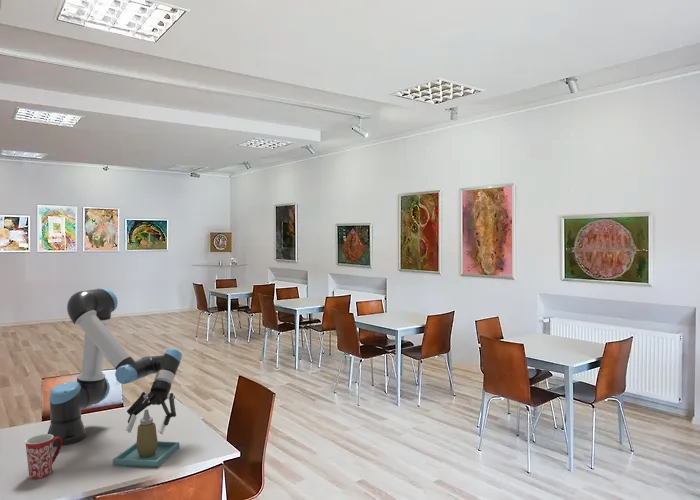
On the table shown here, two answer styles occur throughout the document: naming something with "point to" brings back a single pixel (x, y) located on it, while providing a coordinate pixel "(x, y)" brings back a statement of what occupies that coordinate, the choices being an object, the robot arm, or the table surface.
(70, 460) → the table surface
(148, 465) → the tray
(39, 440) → the mug
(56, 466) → the table surface
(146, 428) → the squeeze bottle
